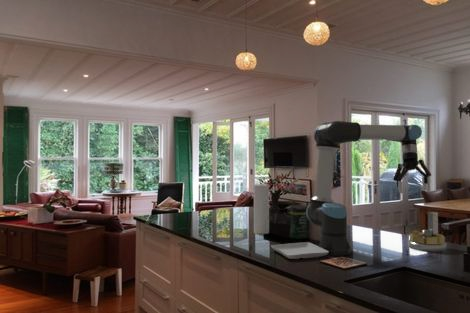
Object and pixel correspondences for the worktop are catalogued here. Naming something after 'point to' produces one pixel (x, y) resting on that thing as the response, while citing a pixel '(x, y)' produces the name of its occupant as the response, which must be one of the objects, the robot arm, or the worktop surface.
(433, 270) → the worktop surface
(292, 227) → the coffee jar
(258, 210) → the cylinder container
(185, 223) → the worktop surface
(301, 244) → the salad plate
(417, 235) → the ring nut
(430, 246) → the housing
